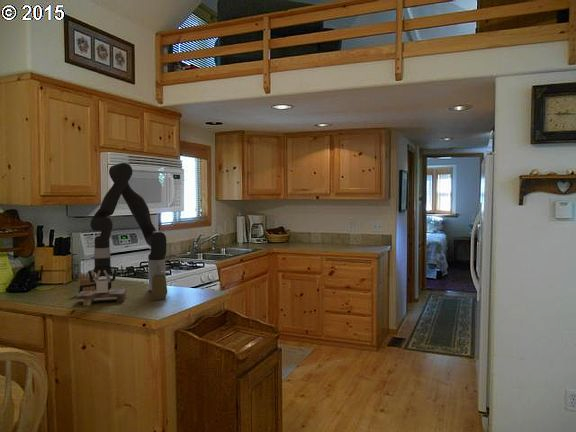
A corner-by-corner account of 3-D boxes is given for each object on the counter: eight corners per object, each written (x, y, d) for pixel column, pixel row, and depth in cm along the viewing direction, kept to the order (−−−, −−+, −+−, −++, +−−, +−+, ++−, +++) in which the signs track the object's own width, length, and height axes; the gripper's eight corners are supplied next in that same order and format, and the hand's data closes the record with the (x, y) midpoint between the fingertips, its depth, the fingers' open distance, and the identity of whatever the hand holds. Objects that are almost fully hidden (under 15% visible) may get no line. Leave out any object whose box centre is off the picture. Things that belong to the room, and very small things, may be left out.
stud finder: (109, 289, 226) (109, 277, 225) (107, 292, 217) (107, 280, 217) (99, 289, 224) (99, 277, 224) (96, 293, 216) (96, 281, 215)
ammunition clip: (79, 295, 236) (78, 273, 235) (78, 294, 237) (77, 272, 237) (100, 292, 242) (99, 271, 242) (99, 291, 244) (98, 270, 243)
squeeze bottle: (153, 301, 219) (152, 266, 218) (150, 298, 226) (149, 264, 225) (169, 299, 222) (168, 264, 222) (165, 296, 230) (165, 262, 229)
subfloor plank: (127, 296, 231) (126, 287, 231) (123, 303, 216) (123, 294, 216) (82, 299, 226) (82, 290, 226) (75, 306, 210) (75, 297, 210)
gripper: (118, 255, 225) (119, 287, 226) (88, 256, 222) (89, 289, 222) (116, 256, 218) (117, 290, 219) (85, 258, 215) (86, 292, 215)
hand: (103, 289), depth 221 cm, fingers closed on stud finder, 5 cm apart
